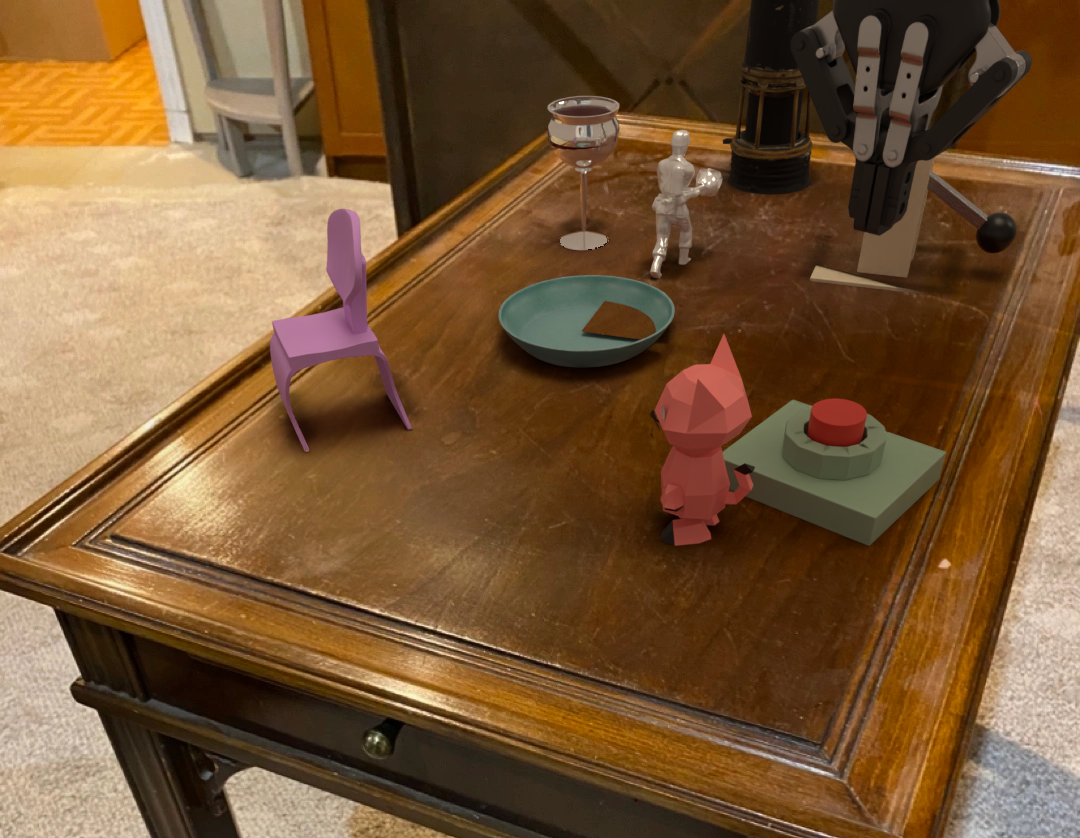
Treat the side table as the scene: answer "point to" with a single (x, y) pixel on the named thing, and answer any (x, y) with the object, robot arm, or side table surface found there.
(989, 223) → the lever
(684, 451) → the cat figurine
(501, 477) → the side table surface
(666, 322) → the saucer
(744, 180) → the lantern
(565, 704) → the side table surface
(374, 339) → the toy chair
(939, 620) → the side table surface
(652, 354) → the side table surface
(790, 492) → the button block
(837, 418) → the button
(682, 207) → the figurine
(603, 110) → the wineglass
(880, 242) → the bracket
